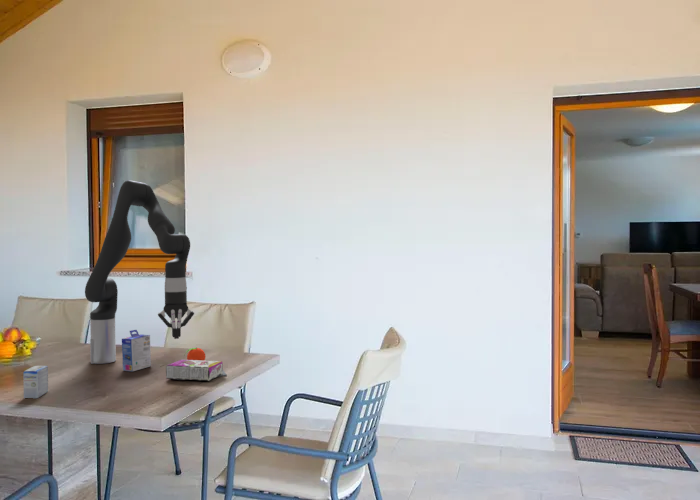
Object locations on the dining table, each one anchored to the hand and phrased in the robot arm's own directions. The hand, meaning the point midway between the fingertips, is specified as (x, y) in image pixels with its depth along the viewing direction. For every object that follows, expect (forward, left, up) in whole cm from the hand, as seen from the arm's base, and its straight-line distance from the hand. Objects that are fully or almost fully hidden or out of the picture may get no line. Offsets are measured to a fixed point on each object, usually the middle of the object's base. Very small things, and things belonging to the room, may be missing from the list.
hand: (176, 338), depth 218 cm
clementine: (+8, +14, -14) cm, 21 cm away
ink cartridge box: (-13, +18, -14) cm, 26 cm away
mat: (+8, 0, -14) cm, 16 cm away
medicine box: (-44, -10, -14) cm, 47 cm away
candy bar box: (-1, -1, -10) cm, 11 cm away
